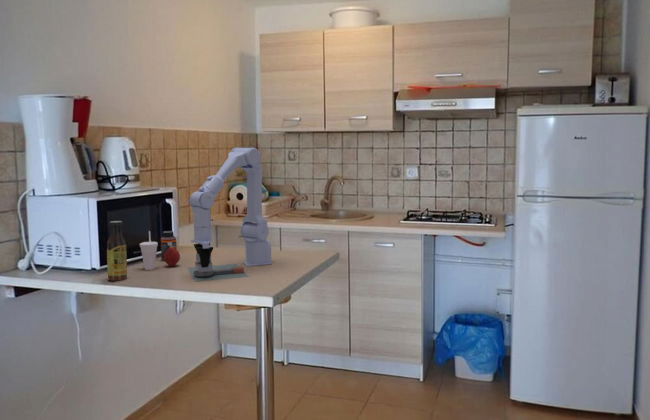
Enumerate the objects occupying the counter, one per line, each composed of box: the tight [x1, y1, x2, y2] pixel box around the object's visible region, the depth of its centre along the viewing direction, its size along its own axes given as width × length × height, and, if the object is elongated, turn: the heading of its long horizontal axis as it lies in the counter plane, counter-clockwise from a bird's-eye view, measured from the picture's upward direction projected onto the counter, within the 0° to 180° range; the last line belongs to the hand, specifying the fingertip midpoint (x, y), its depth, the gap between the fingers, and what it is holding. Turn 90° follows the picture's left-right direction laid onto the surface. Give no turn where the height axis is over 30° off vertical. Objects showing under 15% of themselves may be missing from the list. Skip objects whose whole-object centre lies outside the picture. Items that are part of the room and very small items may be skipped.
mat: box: [187, 263, 249, 282], centre depth 201 cm, size 18×22×1 cm
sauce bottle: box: [106, 220, 128, 282], centre depth 192 cm, size 7×6×20 cm
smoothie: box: [139, 230, 159, 271], centre depth 207 cm, size 6×6×14 cm
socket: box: [194, 252, 213, 273], centre depth 195 cm, size 5×5×6 cm
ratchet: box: [194, 265, 245, 278], centre depth 197 cm, size 17×7×4 cm, turn 110°
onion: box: [163, 246, 181, 267], centre depth 211 cm, size 6×6×8 cm
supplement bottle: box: [160, 230, 178, 262], centre depth 223 cm, size 6×6×11 cm
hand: (203, 265), depth 195 cm, fingers closed on socket, 5 cm apart
